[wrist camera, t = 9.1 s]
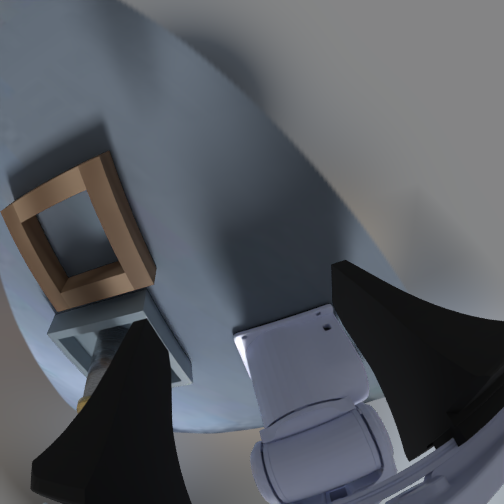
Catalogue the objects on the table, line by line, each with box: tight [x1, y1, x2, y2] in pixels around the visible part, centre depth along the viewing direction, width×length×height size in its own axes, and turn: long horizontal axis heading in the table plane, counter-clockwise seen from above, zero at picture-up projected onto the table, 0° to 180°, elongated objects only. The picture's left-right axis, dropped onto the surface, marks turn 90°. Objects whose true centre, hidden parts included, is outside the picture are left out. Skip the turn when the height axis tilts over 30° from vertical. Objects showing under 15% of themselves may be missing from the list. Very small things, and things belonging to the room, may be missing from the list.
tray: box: [47, 289, 193, 388], centre depth 21 cm, size 10×10×2 cm
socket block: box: [1, 151, 157, 312], centre depth 15 cm, size 9×9×2 cm
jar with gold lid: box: [77, 326, 129, 413], centre depth 17 cm, size 5×5×8 cm
